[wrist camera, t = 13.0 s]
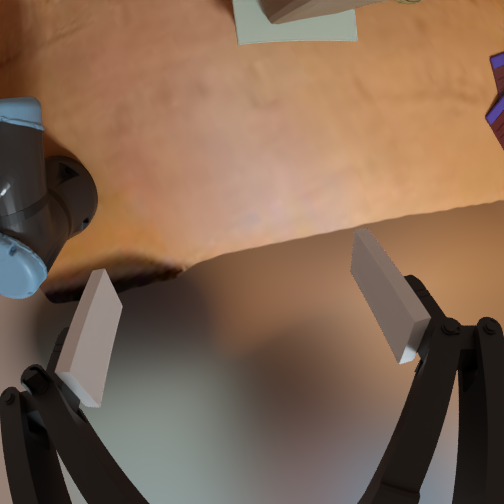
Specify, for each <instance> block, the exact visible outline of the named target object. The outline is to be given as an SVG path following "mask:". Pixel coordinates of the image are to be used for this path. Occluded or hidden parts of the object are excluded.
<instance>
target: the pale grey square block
mask: <svg viewBox="0 0 504 504" xmlns="http://www.w3.org/2000/svg"><path fill="white" fill-rule="evenodd" d="M232 5H233V12H234V20H235V28H236V35H237V43H238V45H243V44H253V43H265V42H281V41H358V40H357V29H356V18H355V9H351V10H347V11H344V12H340V13H337V14H330V15H324V16H318V17H312V18H306V19H301V20H296V21H291V22H287V23H282V24H271V23H270V22H269V20H268V19H267V17H266V14H265V11H264V8H263V6H262V3H261V0H232Z"/></svg>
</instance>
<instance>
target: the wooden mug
mask: <svg viewBox="0 0 504 504" xmlns="http://www.w3.org/2000/svg"><path fill="white" fill-rule="evenodd" d="M396 1H397V2H399V3H404V4H412V3H418V2H420V1H422V0H396Z"/></svg>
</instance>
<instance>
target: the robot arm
mask: <svg viewBox="0 0 504 504" xmlns="http://www.w3.org/2000/svg"><path fill="white" fill-rule="evenodd" d="M43 131H44V127H43V125H42V112H41V104H40V102H39V101H38V100H37V99H36V98H34V97H15V98H5V99H0V294H1V295H3V296H6V297H9V298H14V299H22V298H26V297H29V296H31V295H32V294H33V293H35V292H36V290H37V289H38V287H39V286H40V284H41V283H42V282H43V281H44V280H45V279H46V277H47V274H48V272H49V270H50V268H51V267H52V265H53V263H54V261H55V260H56V258H57V256H58V254H59V253H60V251H61V249H62V248H63V246H64V244H65V243H66V241H67V240H69V239H70V238H72V237H74V236H76V235H78V234H79V233H81V232H82V231H83V230H84V229H85V228H86V227H87V226H88V225H89V223H90V222H91V220H92V218H93V217H94V215H95V212H96V209H97V204H98V195H97V190H96V186H95V183H94V181H93V179H92V177H91V175H90V174H89V173H88V171H87V170H86V169H85V168H84V167H83V166H82V165H81V164H80V163H78V162H77V161H75V160H73V159H71V158H68V157H64V156H52V157H48V158H44V145H43ZM351 273H352V275H353V277H354V279H355V281H356V282H357V284H358V286H359V288H360V290H361V292H362V293H363V295H364V297H365V299H366V301H367V303H368V305H369V307H370V308H371V310H372V312H373V314H374V316H375V318H376V320H377V322H378V324H379V326H380V328H381V330H382V332H383V334H384V336H385V338H386V340H387V341H388V344H389V346H390V348H391V350H392V351H393V354H394V356H395V358H396V360H397V362H398V364H402V363H405V362H409V361H412V360H414V357H415V355H416V353H417V352H418V354H419V356H420V358H421V359H420V361H419V363H418V365H417V368H416V370H415V372H416V374H415V376H414V380H413V382H412V386H411V388H410V391H409V394H408V397H407V400H406V402H405V405H404V408H403V410H402V413H401V416H400V418H399V421H398V423H397V425H396V428H395V430H394V433H393V435H392V437H391V440H390V442H389V444H388V446H387V449H386V451H385V453H384V455H383V457H382V459H381V461H380V464H379V466H378V468H377V470H376V472H375V474H374V476H373V478H372V480H371V482H370V484H369V485H368V487H367V489H366V491H365V493H364V495H363V496H362V498H361V499H360V501H359V502H358V503H357V504H418V503H419V499H420V493H419V491H420V488H421V485H422V483H423V480H424V478H425V475H426V473H427V470H428V467H429V464H430V462H431V459H432V456H433V454H434V451H435V448H436V445H437V442H438V439H439V436H440V432H441V429H442V426H443V422H444V419H445V416H446V412H447V408H448V405H449V401H450V397H451V393H452V389H453V384H454V380H455V375H456V371H457V370H458V385H459V434H458V435H459V436H458V453H457V467H456V476H455V485H454V493H453V500H452V504H504V336H503V331H502V328H501V326H500V324H499V323H498V322H497V321H496V320H495V319H493V318H490V317H483V318H481V319H480V320H479V322H478V323H477V325H475V326H462V325H461V324H460V323H459V322H458V321H457V320H455V319H453V318H448V317H446V316H445V314H444V313H443V312H442V310H441V309H440V307H439V306H438V304H437V303H436V301H435V300H434V299H433V297H432V296H431V295H430V293H429V292H428V290H426V288H425V286H424V285H423V283H422V282H421V281H420V280H419V279H417V278H416V277H415V276H413V275H408V276H403V275H402V274H401V272H400V271H399V270H398V268H397V267H396V266H395V264H394V263H393V261H392V260H391V259H390V258H389V256H388V255H387V253H386V252H385V251H384V249H383V248H382V247H381V245H380V244H379V243H378V241H377V240H376V239H375V237H374V236H373V235H372V233H371V232H370V231H369V230H368V228H363V229H357V230H354V239H353V250H352V261H351ZM122 307H123V306H122V304H121V302H120V300H119V298H118V296H117V294H116V292H115V290H114V288H113V285H112V283H111V281H110V279H109V277H108V274H107V272H106V270H105V269H100V270H93V271H92V274H91V276H90V278H89V280H88V283H87V285H86V288H85V290H84V292H83V295H82V297H81V300H80V302H79V305H78V307H77V310H76V312H75V315H74V318H73V320H72V323H71V326H70V327H67V328H64V329H63V330H62V331H61V333H60V334H59V335H58V338H57V341H56V343H55V346H54V349H53V353H52V354H51V357H50V360H49V363H48V366H47V369H46V371H45V370H44V369H43V368H42V366H40V365H38V364H34V365H31V366H29V367H28V368H27V369H26V370H24V372H23V374H22V376H21V384H22V385H23V386H24V388H25V389H26V390H27V391H23V392H19V391H18V390H17V389H16V388H15V387H8V388H7V389H5V390H4V391H3V393H2V394H1V396H0V421H1V422H0V423H1V433H2V444H3V452H4V459H5V465H6V471H7V477H8V482H9V487H10V492H11V497H12V501H13V504H72V502H71V500H70V496H69V493H68V490H67V487H66V484H65V481H64V477H63V474H62V471H61V467H60V463H59V460H58V456H57V452H58V454H59V456H60V458H61V459H62V461H63V463H64V465H65V467H66V468H67V470H68V472H69V474H70V475H71V477H72V479H73V481H74V483H75V484H76V486H77V487H78V489H79V491H80V492H81V494H82V495H83V497H84V499H85V500H86V501H87V503H88V504H149V503H148V502H147V500H146V499H145V498H144V497H143V496H142V495H141V493H140V492H139V491H138V490H137V488H136V487H135V486H134V485H133V484H132V482H131V481H130V480H129V479H128V477H127V476H126V475H125V473H124V472H123V471H122V469H121V468H120V467H119V466H118V464H117V463H116V462H115V460H114V459H113V457H112V456H111V455H110V453H109V452H108V450H107V449H106V447H105V446H104V444H103V443H102V441H101V440H100V438H99V437H98V436H97V434H96V432H95V431H94V429H93V428H92V426H91V424H90V423H89V421H88V420H87V418H86V416H85V415H84V413H83V411H82V410H81V409H80V408H79V404H80V401H81V402H82V403H83V404H84V405H85V406H86V407H100V406H101V401H102V395H103V390H104V385H105V380H106V374H107V370H108V365H109V360H110V356H111V351H112V347H113V342H114V338H115V334H116V330H117V326H118V322H119V318H120V314H121V310H122ZM56 450H57V452H56Z"/></svg>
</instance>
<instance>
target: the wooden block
mask: <svg viewBox="0 0 504 504" xmlns="http://www.w3.org/2000/svg"><path fill="white" fill-rule="evenodd" d="M382 1H387V0H261V3H262V6H263V8H264V11H265V14H266V17H267V19H268V20H269V22H270V23H271V24H282V23H287V22H291V21H296V20H301V19H306V18H312V17H318V16H324V15H330V14H337V13H340V12H344V11H347V10H351V9H354V8H358V7H362V6H365V5H369V4H374V3H378V2H382Z"/></svg>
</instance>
